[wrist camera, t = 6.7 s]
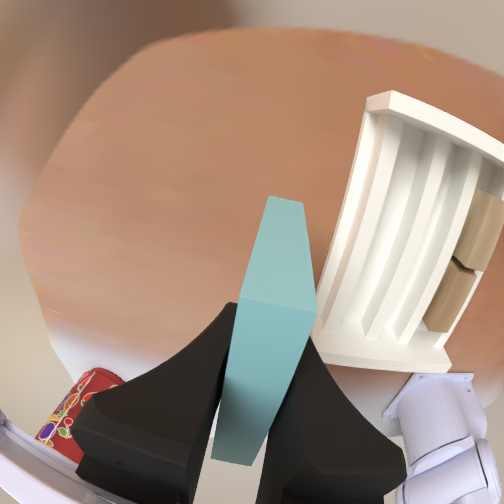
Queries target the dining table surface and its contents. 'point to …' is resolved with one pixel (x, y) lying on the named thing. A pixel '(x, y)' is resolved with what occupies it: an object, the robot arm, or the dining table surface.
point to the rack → (400, 234)
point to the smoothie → (74, 413)
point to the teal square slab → (266, 332)
